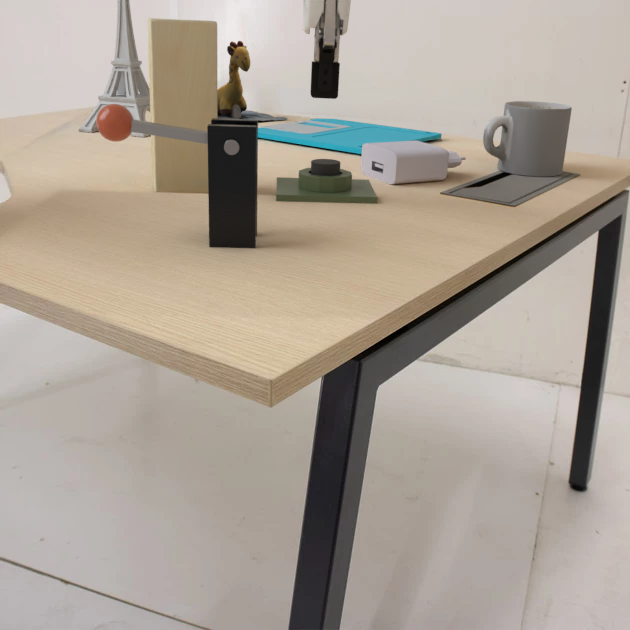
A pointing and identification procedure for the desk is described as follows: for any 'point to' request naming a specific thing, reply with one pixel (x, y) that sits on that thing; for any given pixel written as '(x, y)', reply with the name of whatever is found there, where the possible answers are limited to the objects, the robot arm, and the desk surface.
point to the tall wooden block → (181, 99)
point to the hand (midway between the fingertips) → (324, 97)
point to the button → (325, 167)
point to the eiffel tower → (124, 75)
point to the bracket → (232, 182)
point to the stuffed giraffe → (237, 89)
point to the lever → (140, 126)
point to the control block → (325, 188)
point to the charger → (407, 161)
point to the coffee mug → (530, 138)
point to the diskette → (341, 134)
